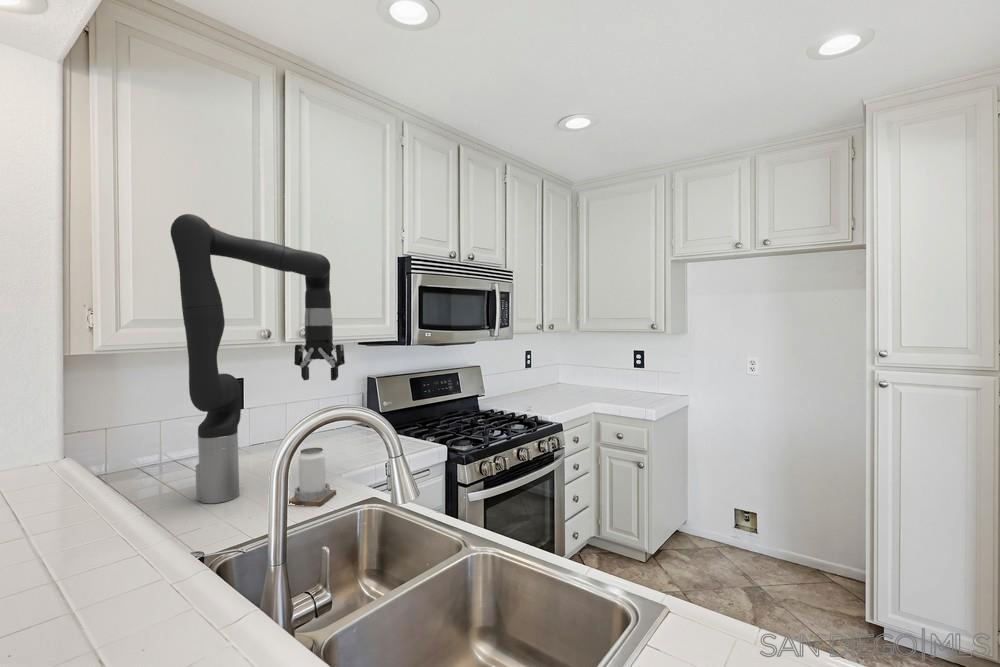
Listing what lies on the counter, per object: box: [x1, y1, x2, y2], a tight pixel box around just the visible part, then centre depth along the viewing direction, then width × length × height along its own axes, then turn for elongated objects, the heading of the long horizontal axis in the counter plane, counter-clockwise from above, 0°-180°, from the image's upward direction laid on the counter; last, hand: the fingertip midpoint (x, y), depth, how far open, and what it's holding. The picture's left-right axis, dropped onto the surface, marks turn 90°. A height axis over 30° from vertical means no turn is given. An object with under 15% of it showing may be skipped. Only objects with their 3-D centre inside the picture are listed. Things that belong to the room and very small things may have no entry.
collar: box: [294, 482, 331, 501], centre depth 129 cm, size 9×9×2 cm
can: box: [298, 447, 326, 493], centre depth 129 cm, size 6×6×12 cm
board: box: [288, 489, 337, 508], centre depth 129 cm, size 9×9×1 cm
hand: (320, 380), depth 141 cm, fingers open, 8 cm apart
